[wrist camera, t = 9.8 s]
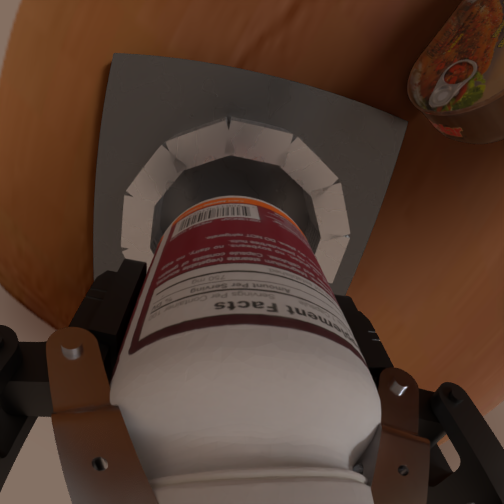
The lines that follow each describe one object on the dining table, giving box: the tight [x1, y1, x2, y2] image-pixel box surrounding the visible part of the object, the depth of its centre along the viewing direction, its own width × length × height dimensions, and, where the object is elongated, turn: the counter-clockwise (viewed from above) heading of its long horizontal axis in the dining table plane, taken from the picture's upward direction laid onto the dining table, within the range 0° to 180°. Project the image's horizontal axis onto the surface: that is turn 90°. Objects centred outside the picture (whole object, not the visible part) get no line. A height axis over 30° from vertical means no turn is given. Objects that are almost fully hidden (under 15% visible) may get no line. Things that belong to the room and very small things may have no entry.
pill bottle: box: [109, 196, 381, 504], centre depth 8 cm, size 6×6×11 cm
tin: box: [407, 0, 504, 144], centre depth 10 cm, size 15×3×8 cm, turn 144°
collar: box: [93, 53, 408, 296], centre depth 17 cm, size 16×16×4 cm
